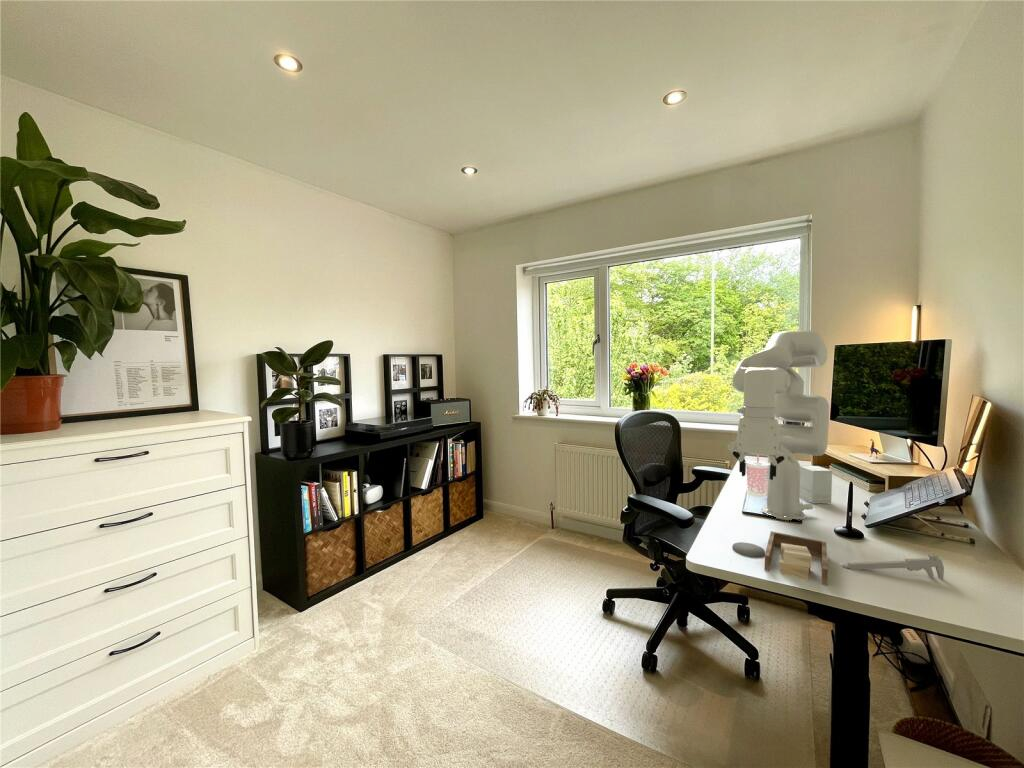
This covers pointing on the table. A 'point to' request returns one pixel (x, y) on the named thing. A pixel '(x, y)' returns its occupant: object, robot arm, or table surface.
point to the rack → (812, 545)
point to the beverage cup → (757, 477)
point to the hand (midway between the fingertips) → (757, 476)
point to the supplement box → (815, 484)
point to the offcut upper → (796, 555)
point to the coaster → (748, 549)
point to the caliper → (904, 565)
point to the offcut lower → (794, 570)
